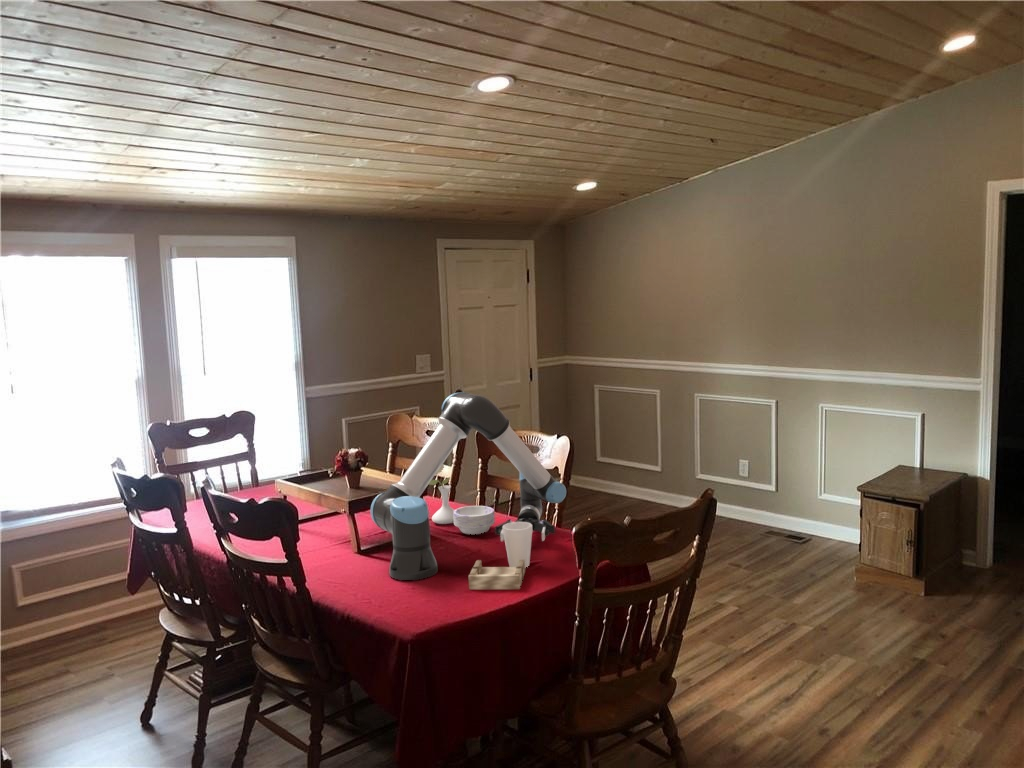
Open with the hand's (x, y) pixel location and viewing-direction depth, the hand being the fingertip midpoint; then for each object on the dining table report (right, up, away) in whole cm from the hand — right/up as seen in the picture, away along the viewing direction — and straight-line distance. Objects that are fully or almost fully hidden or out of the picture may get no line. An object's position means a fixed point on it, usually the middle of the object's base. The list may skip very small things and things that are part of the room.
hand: (522, 537), depth 261 cm
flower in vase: (-29, -4, +47) cm, 55 cm away
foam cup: (-1, -8, -7) cm, 11 cm away
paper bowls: (-17, -4, +33) cm, 38 cm away
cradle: (-8, -9, -19) cm, 23 cm away
